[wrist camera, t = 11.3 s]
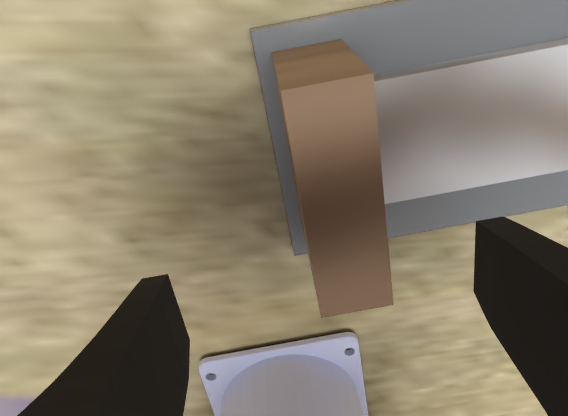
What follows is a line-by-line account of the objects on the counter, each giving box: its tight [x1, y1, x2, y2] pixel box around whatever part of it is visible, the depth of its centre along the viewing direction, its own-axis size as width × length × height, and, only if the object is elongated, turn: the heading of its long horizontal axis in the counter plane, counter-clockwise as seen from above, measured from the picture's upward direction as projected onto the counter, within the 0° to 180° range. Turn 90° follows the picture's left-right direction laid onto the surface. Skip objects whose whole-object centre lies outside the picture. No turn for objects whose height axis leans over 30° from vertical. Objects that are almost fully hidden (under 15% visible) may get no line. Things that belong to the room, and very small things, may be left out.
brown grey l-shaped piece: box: [271, 38, 568, 318], centre depth 17 cm, size 8×12×5 cm, turn 100°
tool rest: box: [250, 0, 568, 255], centre depth 20 cm, size 10×14×1 cm
